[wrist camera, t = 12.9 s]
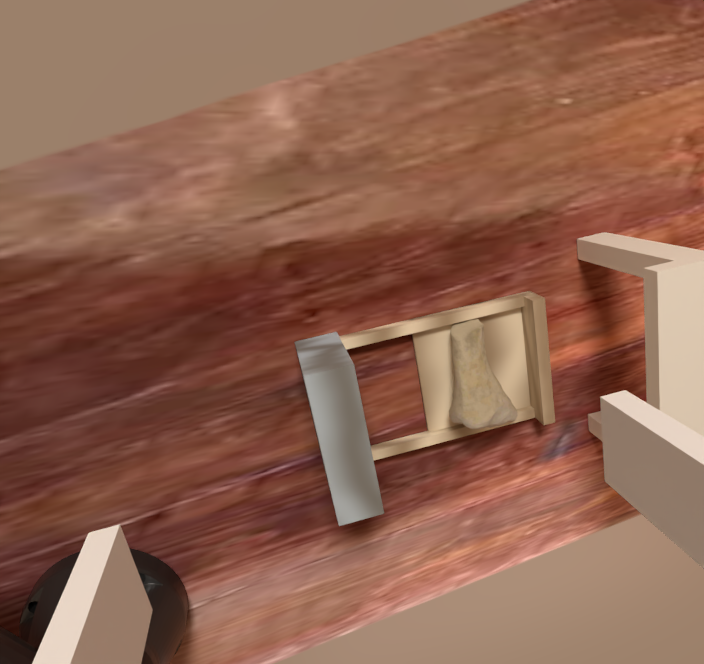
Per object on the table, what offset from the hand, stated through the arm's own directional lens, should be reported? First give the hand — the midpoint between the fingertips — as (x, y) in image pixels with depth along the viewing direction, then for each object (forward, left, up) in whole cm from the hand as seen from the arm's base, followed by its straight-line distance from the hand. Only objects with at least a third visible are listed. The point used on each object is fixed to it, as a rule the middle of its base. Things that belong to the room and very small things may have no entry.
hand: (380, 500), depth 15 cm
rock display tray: (+11, -14, -37) cm, 41 cm away
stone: (+15, -14, -36) cm, 42 cm away
